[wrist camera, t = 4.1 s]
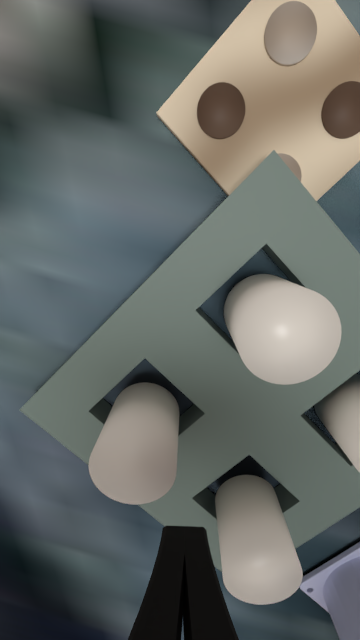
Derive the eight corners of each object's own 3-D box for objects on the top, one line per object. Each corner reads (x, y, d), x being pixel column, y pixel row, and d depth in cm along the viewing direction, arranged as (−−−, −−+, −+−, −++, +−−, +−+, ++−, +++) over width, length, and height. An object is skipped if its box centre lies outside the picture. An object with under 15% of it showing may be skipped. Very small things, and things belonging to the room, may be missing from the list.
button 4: (313, 311, 16) (362, 339, 11) (256, 359, 16) (281, 402, 12) (265, 257, 15) (297, 264, 10) (208, 310, 16) (216, 337, 11)
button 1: (289, 501, 19) (319, 578, 15) (242, 533, 20) (258, 615, 15) (248, 463, 18) (267, 533, 14) (202, 498, 19) (206, 574, 15)
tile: (406, 114, 15) (415, 109, 14) (269, 243, 17) (272, 243, 16) (294, -46, 13) (298, -59, 13) (157, 116, 15) (155, 111, 14)
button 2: (193, 413, 17) (195, 470, 13) (147, 452, 18) (134, 518, 14) (145, 369, 17) (129, 414, 12) (99, 411, 18) (70, 467, 13)
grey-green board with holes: (464, 401, 19) (495, 419, 17) (234, 556, 23) (238, 585, 21) (263, 161, 15) (273, 149, 14) (35, 393, 20) (19, 409, 18)
